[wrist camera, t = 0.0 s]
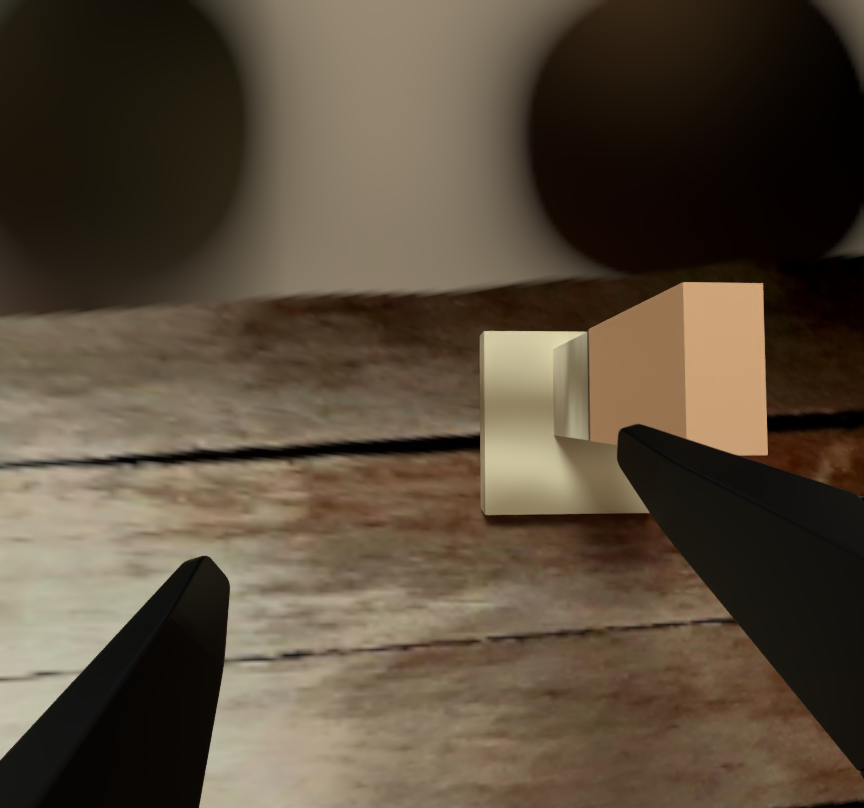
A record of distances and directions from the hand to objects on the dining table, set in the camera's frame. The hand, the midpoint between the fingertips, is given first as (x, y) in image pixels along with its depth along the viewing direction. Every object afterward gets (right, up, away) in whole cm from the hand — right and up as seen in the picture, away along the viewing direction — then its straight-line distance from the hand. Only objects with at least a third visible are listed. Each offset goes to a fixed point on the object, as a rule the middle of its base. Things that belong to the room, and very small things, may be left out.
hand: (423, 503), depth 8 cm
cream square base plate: (+8, +1, +15) cm, 17 cm away
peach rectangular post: (+8, +3, +9) cm, 13 cm away
